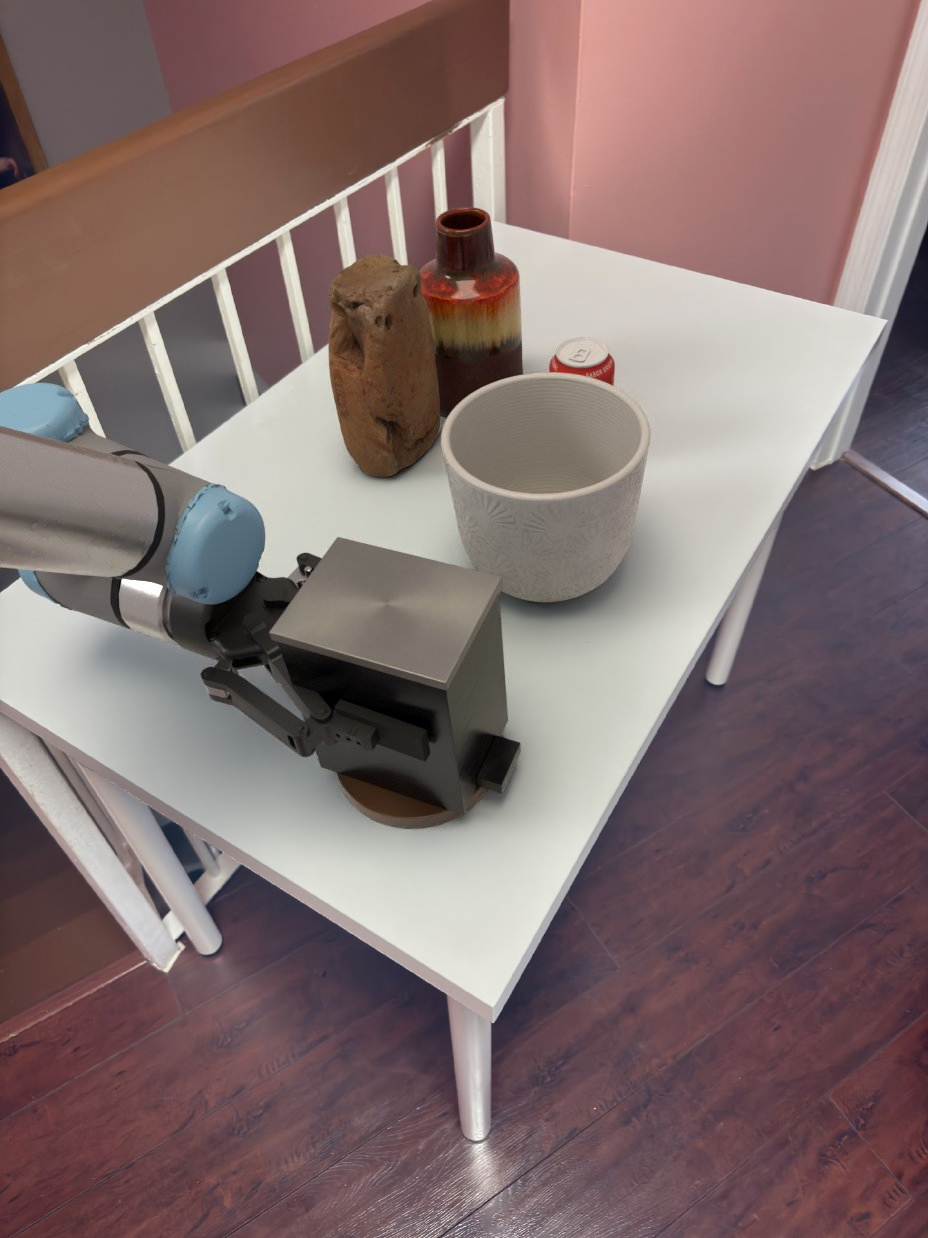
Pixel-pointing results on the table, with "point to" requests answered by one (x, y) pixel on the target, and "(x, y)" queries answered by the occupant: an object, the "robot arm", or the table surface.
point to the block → (383, 364)
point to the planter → (546, 481)
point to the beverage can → (584, 359)
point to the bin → (406, 666)
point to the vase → (471, 307)
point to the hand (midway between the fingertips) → (459, 689)
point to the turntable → (396, 805)
